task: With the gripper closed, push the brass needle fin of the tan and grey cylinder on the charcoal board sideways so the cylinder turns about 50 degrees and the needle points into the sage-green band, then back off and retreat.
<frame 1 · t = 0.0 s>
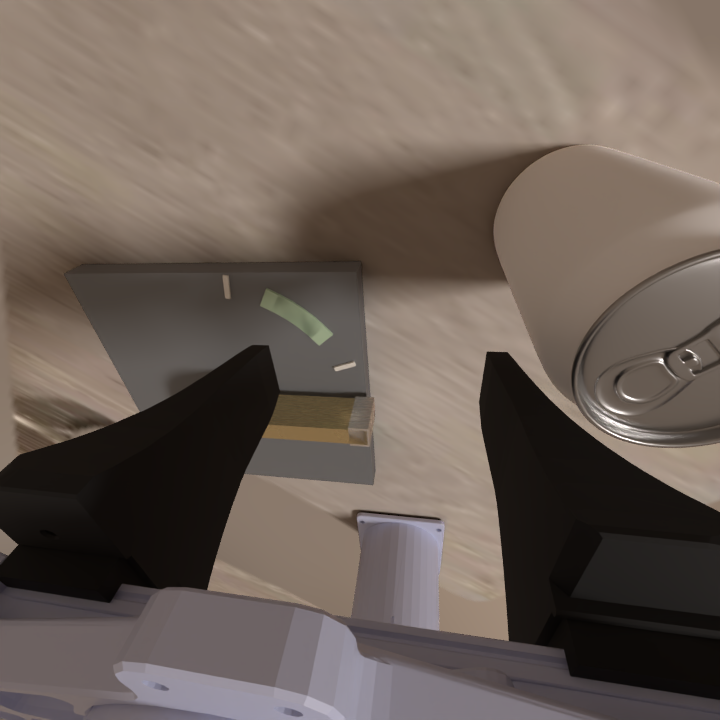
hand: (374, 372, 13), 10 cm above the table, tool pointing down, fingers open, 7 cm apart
tan and grey cylinder: (281, 417, 24), point 4 cm above the table, hinge at 0.0°
dial board: (248, 380, 28), on the table
can: (560, 218, 18), on the table
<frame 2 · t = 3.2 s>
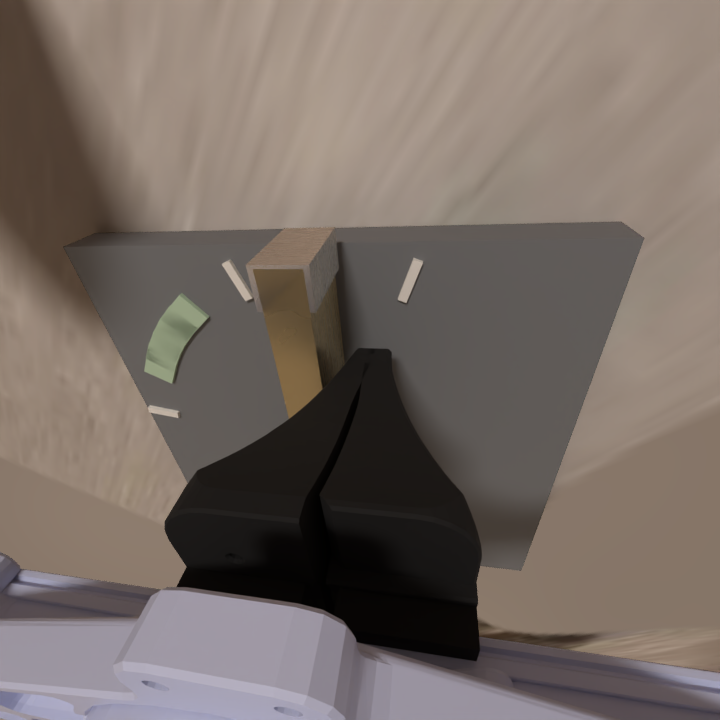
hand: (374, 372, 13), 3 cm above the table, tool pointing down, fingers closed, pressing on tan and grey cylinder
tan and grey cylinder: (322, 415, 13), point 4 cm above the table, hinge at 0.0°, touching gripper
dial board: (349, 421, 18), on the table
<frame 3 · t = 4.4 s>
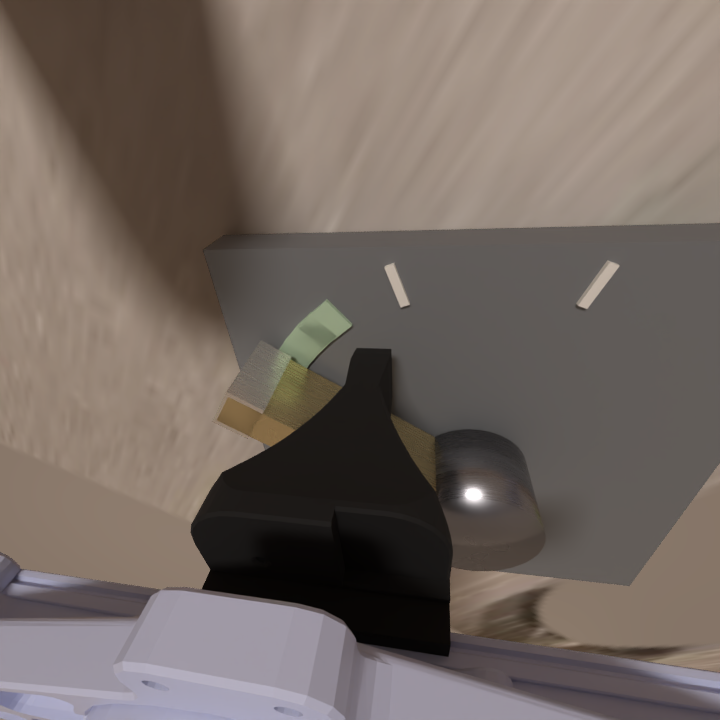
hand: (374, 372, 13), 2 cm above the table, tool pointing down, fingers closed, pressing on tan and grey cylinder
tan and grey cylinder: (388, 457, 13), point 4 cm above the table, hinge at 56.2°, touching gripper
dial board: (464, 432, 17), on the table
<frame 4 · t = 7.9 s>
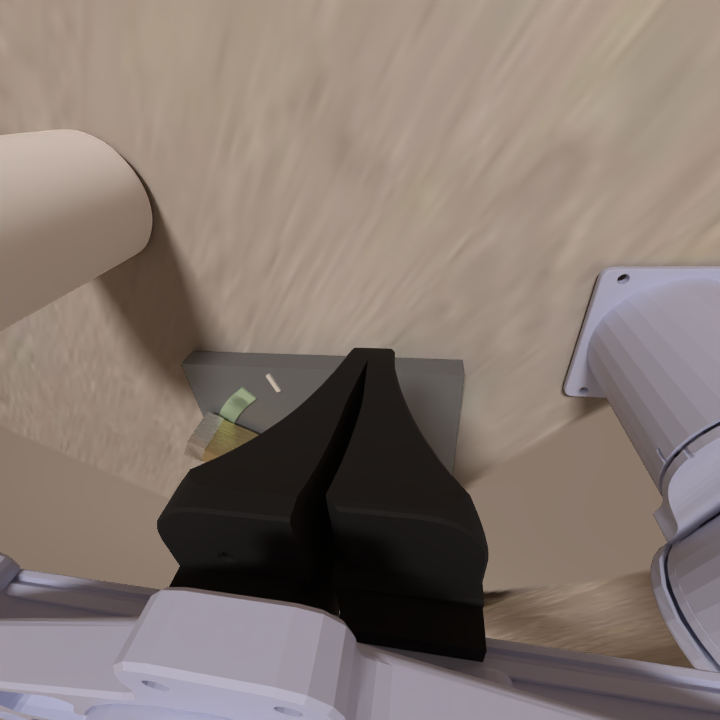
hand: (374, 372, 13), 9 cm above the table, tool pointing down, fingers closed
tan and grey cylinder: (276, 467, 26), point 3 cm above the table, hinge at 60.9°
dial board: (334, 449, 30), on the table
can: (102, 196, 21), on the table
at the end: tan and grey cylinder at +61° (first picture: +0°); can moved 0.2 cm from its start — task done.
